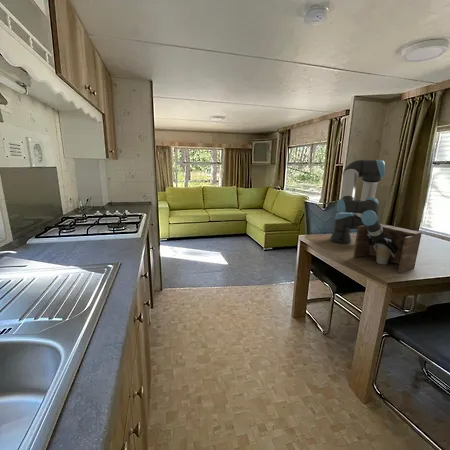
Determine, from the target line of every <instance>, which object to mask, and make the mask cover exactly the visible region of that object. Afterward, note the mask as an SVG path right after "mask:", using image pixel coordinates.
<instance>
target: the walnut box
mask: <svg viewBox="0 0 450 450" xmlns="http://www.w3.org/2000/svg"><path fill="white" fill-rule="evenodd" d="M380 224H381V227H382V229H383V231H384V233H385V237H386V238H387V239H390V238H391V239H392V240H393V242H394V244H395V245H396V246H397V247H398V250H397V252H396V256H395V257H393V256H392V254H391V255H390V257H389V260H388V262H392V263H394V264H397V265H398V270H397V274H403V273H406V272H409V271H411V270H414V269H415V267H416V266H415V265H416V261H417V256H418V253H419V247H420V244H421V238H422V234H423V232H422V231H418V230H412V229H408V228H403V227H399V226H394V225H388V224H383V223H380ZM367 234H368V231H367V229H366V227H365V226H364V225H363V226H358V228H357V230H356V236H355V242H354V248H353V249H354V251H353V255H352V257H354V258H353V259H356V257H357V258H360V257H363V255H364V256H367V254H368V255H370V256H372V257H375V258H377V255H376V251H375V249H374V248H373V246H372V245H371V244H370V245H369V244H368V238H367V237H366V236H367ZM372 242H373V239H372ZM375 243H377V242H375Z"/></svg>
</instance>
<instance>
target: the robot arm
mask: <svg viewBox="0 0 450 450" xmlns="http://www.w3.org/2000/svg"><path fill="white" fill-rule="evenodd" d="M385 163H386V162H385V161H384V160H382V159H381V160H380V159H356V160H353V161H352V162H350V163H349V164H347V165H346V167H345V168H344V169H343V172H342V178H343V183H342V191H341V197H340V199H338V200H337V203H336V211H337V213H336V214H335V218H334V225H333V232H332V233H331V236H330V237H329V238H330V241H331V242H333V243H336V242H337V243H336V244H341V243H343V245H348V243H349V244H351V243H352V238H351V230H354V231H357V228H358V226H363V225H364V226H365V227H366V229H367V231H368V234H367V236H366V237H367V238H368V244H369V245H370V244H371V245H372V246H373V248H374V249H375V251H376V252H377V243H375V242H376V241H377V242H380V243H382V244H383V245H385V246H386V247H387V248H389V249H390V250H391V251H390V252H391V254H392V256H393V257H395V256H396V252H397V250H398V247H397V246H396V245H395V244H394V242H393V241H392V239H391V238H390V239H387V238H386V237H385V233H384V231H383V229H382V227H381V224H382V223H381V222H380V219H379V218H380V217H379V215H380V213H379V211H380V205H379V204H380V203H379V200H378V198H375V197H376V194H377V193H376V191H377V187H378V183H380V182H381V181H382V179H385V174H386V164H385ZM358 178H361V181H362V182H363V184H362V189H361V195H360V200H358V199H357V200H356V191H357V190H356V188H357V179H358ZM372 239H373V242H372ZM383 242H384V243H383Z"/></svg>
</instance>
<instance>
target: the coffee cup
mask: <svg viewBox="0 0 450 450" xmlns="http://www.w3.org/2000/svg"><path fill="white" fill-rule="evenodd" d="M392 241H393V240H392ZM376 242H377V241H376ZM383 243H384V242H383ZM390 251H391V250H390V249H389V248H387V247H386V246H385V245H383V244H382V243H380V242H377V252H376V255H377V257H375V258H376V263H377V264H379V265H388V263H389V261H388V260H389V257H390V255H391V252H390Z"/></svg>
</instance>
